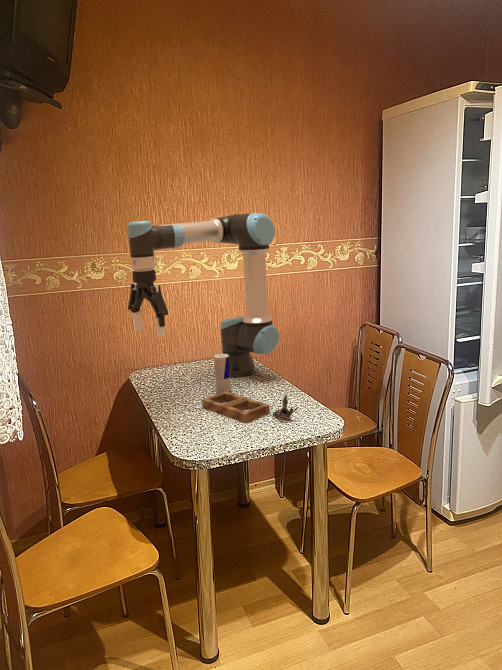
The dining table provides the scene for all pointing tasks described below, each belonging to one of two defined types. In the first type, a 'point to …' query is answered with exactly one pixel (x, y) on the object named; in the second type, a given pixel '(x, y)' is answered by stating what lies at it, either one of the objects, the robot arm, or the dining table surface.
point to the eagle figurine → (285, 409)
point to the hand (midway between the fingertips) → (149, 333)
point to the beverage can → (222, 373)
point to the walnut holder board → (236, 406)
